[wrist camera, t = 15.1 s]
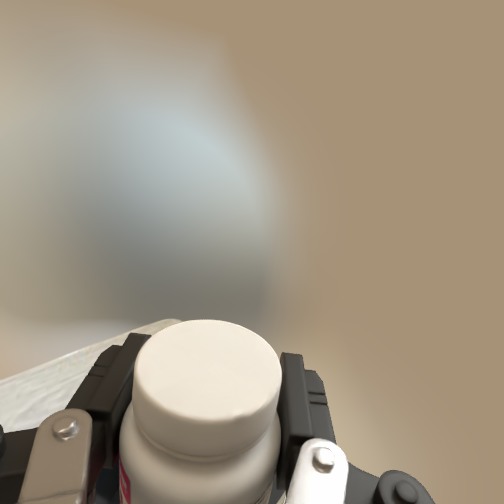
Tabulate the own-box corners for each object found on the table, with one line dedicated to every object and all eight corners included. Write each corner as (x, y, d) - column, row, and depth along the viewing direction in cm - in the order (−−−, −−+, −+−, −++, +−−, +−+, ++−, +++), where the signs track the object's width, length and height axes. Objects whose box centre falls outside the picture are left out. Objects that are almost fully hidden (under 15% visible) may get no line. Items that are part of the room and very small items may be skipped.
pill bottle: (92, 548, 12) (79, 353, 9) (193, 458, 16) (210, 295, 13) (182, 683, 10) (210, 479, 7) (280, 540, 13) (327, 363, 10)
